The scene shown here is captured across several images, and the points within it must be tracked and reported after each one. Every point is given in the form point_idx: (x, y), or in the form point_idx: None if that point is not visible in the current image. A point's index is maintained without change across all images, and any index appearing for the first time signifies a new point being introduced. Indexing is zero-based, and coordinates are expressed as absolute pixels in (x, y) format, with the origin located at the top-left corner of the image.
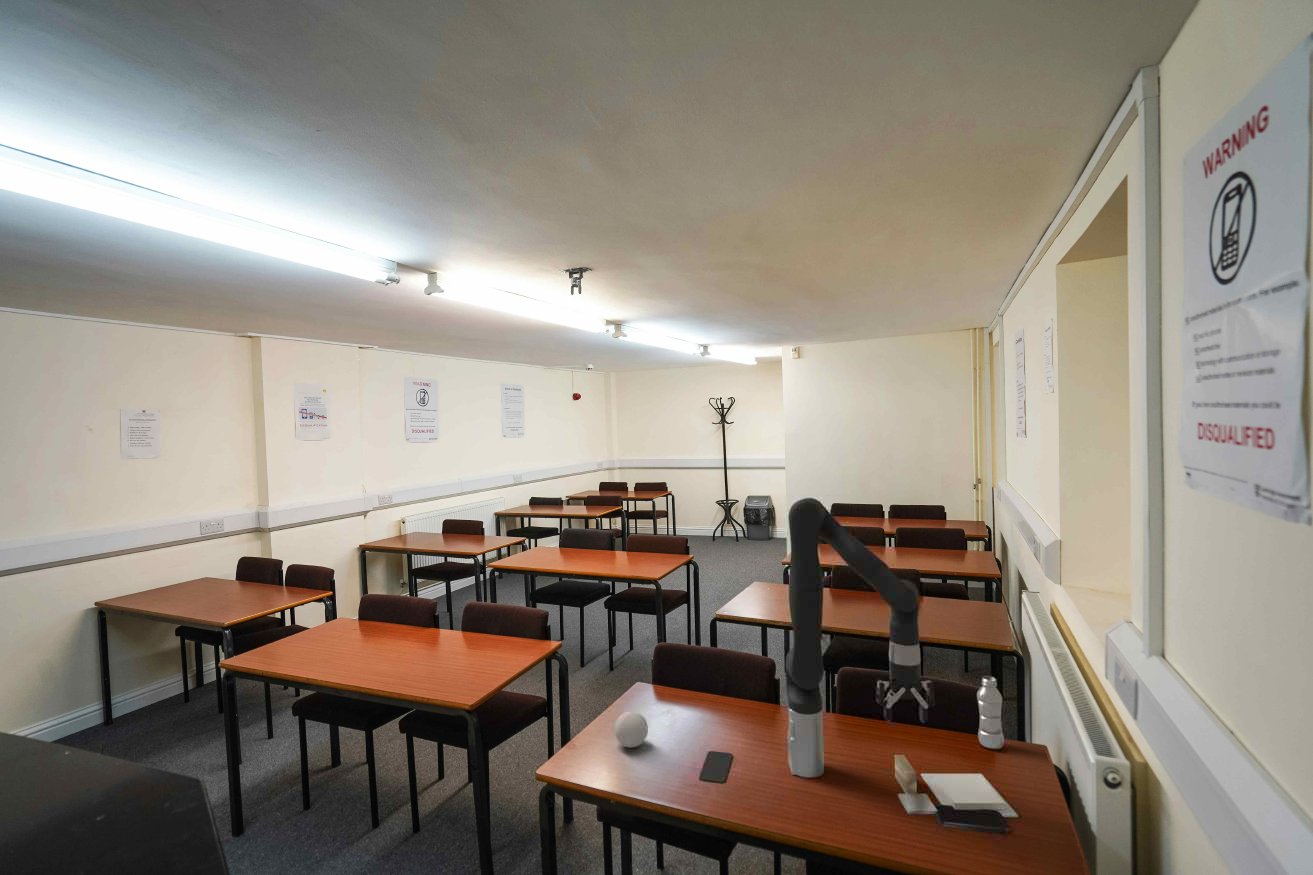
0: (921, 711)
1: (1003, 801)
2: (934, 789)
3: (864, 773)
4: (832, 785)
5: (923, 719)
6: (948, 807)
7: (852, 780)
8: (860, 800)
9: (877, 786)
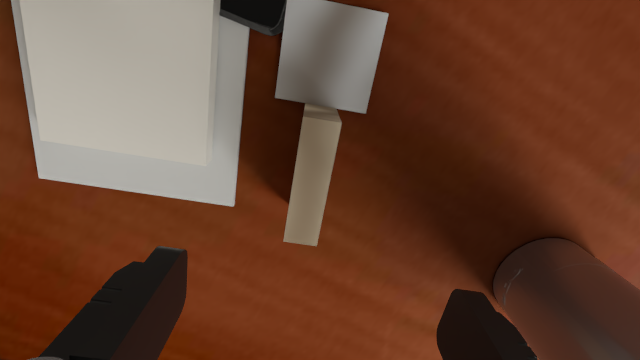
0: (140, 341)
1: None
2: (232, 122)
3: (395, 235)
4: (522, 196)
5: (166, 262)
6: (237, 10)
7: (450, 210)
8: (491, 112)
9: (396, 171)
